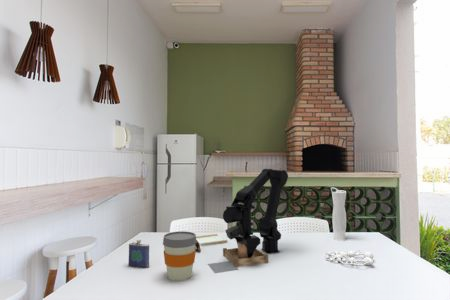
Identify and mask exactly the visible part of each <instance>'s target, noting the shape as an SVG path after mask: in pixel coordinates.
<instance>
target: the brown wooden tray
mask: <svg viewBox="0 0 450 300" xmlns="http://www.w3.org/2000/svg"><path fill="white" fill-rule="evenodd" d="M222 256H223V257H224V258H226V259H227V261H230V262H231V263H232V264H234V266H235V267H237V268H239V267H246V266H252V265H260V264H268V263H269V254H268V253H263V252H262V251H261V250H259V249H257V248H256V249H255V251H254V253H253V255H252V257H251V258H243V259H238V247H235V248H226V247H224V248H222Z"/></svg>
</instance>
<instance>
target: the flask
mask: <svg viewBox="0 0 450 300" xmlns="http://www.w3.org/2000/svg"><path fill="white" fill-rule="evenodd" d="M128 267H131V268H138V269H139V268H140V269H141V268H142V269H147V268H149V267H150V244H148V243H142V240H141V239H137V240H136V242H135V241H133V242H130V243H129V244H128Z"/></svg>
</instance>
